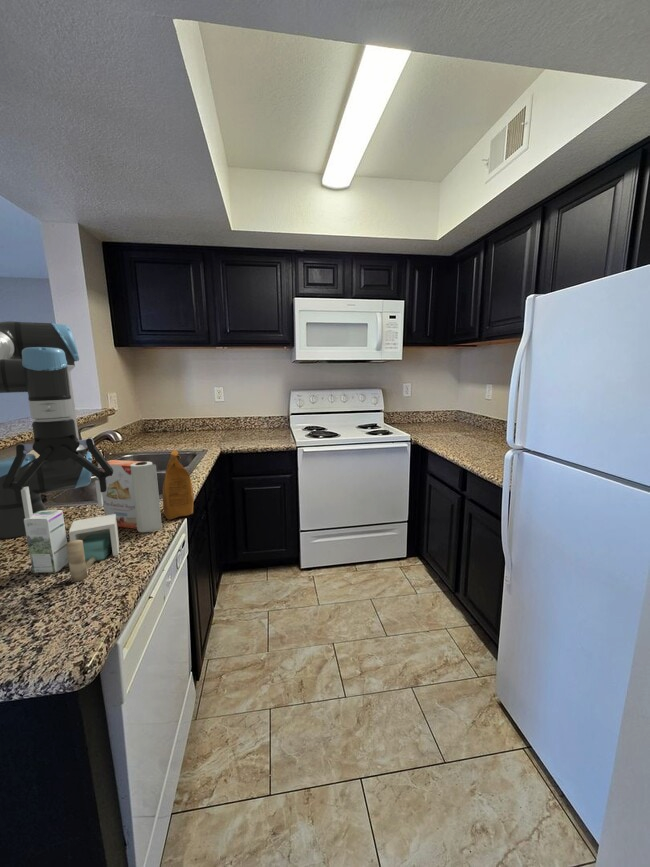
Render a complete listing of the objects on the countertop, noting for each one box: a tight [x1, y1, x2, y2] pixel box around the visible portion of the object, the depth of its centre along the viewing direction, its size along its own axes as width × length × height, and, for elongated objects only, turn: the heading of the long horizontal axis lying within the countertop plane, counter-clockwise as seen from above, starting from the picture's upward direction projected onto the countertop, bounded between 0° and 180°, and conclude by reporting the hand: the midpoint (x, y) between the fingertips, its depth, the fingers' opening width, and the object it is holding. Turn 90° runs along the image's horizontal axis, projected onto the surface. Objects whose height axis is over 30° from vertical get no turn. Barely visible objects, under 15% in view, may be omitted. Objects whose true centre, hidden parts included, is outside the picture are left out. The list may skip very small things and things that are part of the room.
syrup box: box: [24, 509, 69, 574], centre depth 90 cm, size 6×6×14 cm
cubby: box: [68, 514, 120, 557], centre depth 97 cm, size 8×10×9 cm
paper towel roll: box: [130, 461, 163, 533], centre depth 111 cm, size 7×6×21 cm
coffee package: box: [162, 449, 195, 520], centre depth 124 cm, size 10×12×22 cm
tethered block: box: [66, 533, 112, 583], centre depth 91 cm, size 15×5×9 cm, turn 13°
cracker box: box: [97, 459, 141, 530], centre depth 115 cm, size 14×6×21 cm, turn 73°
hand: (66, 511), depth 82 cm, fingers open, 13 cm apart
